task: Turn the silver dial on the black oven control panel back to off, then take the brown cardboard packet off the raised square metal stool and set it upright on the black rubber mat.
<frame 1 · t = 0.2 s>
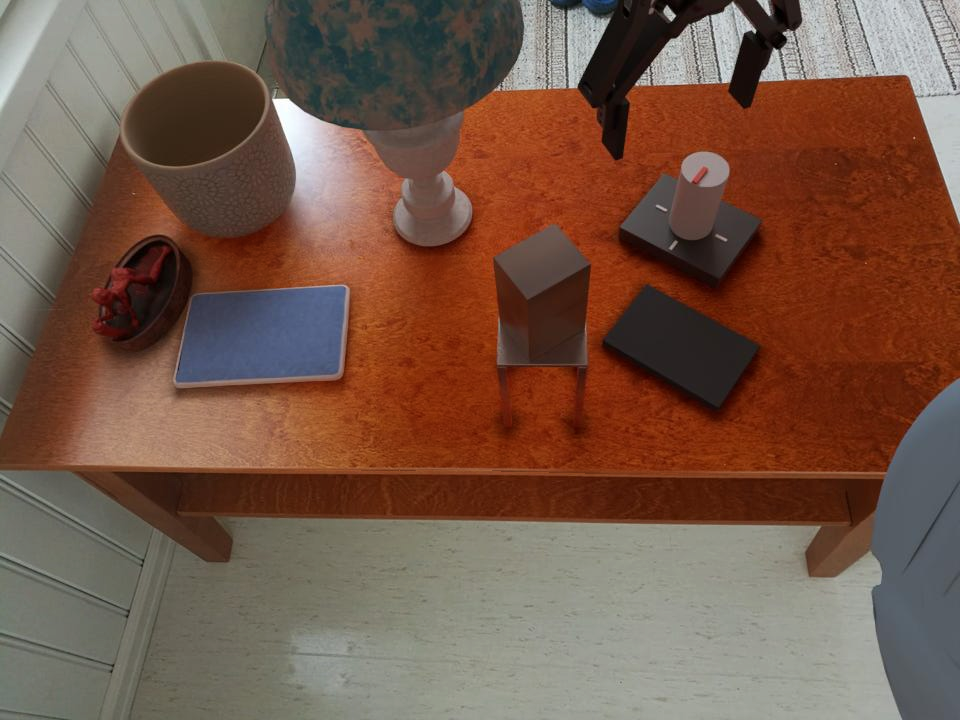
hand: (676, 124, 69), 20 cm above the table, tool pointing down, fingers open, 13 cm apart
packet: (542, 325, 67), point 14 cm above the table, touching square metal stool
oven dial: (697, 196, 82), point 7 cm above the table, hinge at 90.0°
table lamp: (433, 217, 92), on the table
planter: (244, 204, 95), on the table
mat: (679, 348, 80), on the table
tablet: (266, 339, 85), on the table
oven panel: (687, 234, 87), on the table
square metal stool: (542, 392, 79), on the table
figurine: (151, 301, 89), on the table
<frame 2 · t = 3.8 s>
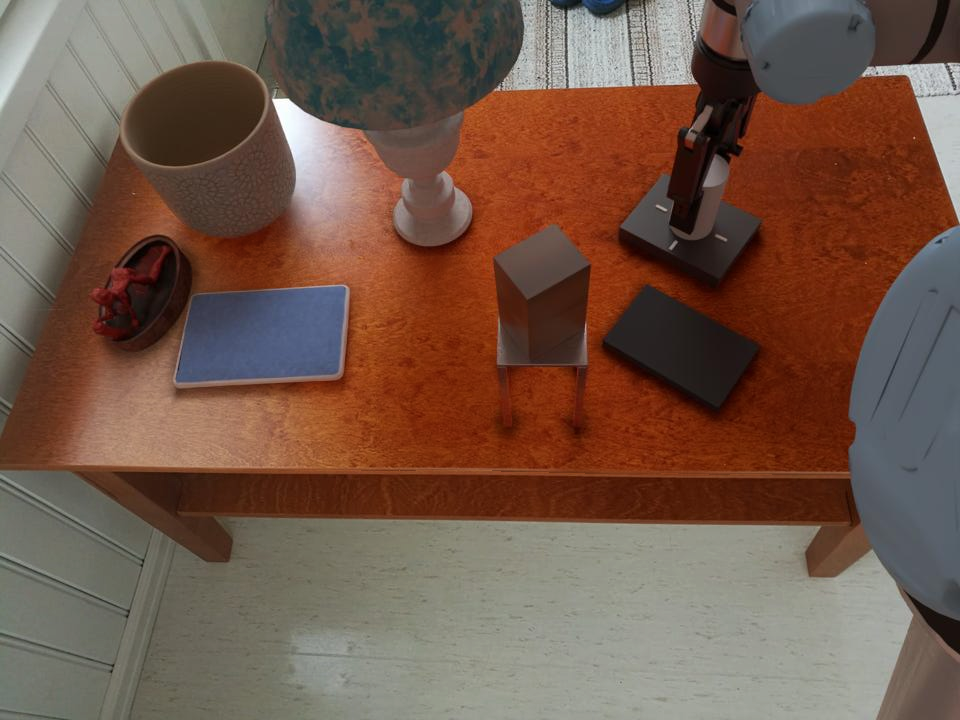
hand: (694, 210, 84), 4 cm above the table, tool pointing down, fingers closed on oven dial, 5 cm apart
oven dial: (697, 196, 82), point 7 cm above the table, hinge at 90.0°, touching gripper
everything else where it was.
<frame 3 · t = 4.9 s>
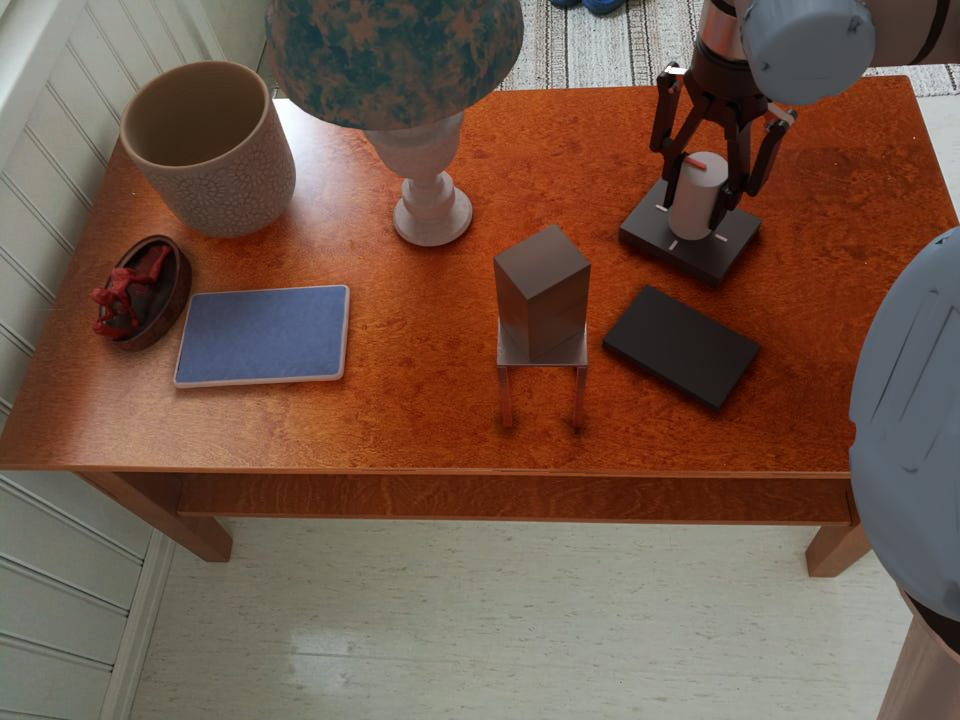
hand: (694, 210, 84), 4 cm above the table, tool pointing down, fingers closed on oven dial, 5 cm apart
oven dial: (697, 196, 82), point 7 cm above the table, hinge at 0.8°, touching gripper
everything else where it was.
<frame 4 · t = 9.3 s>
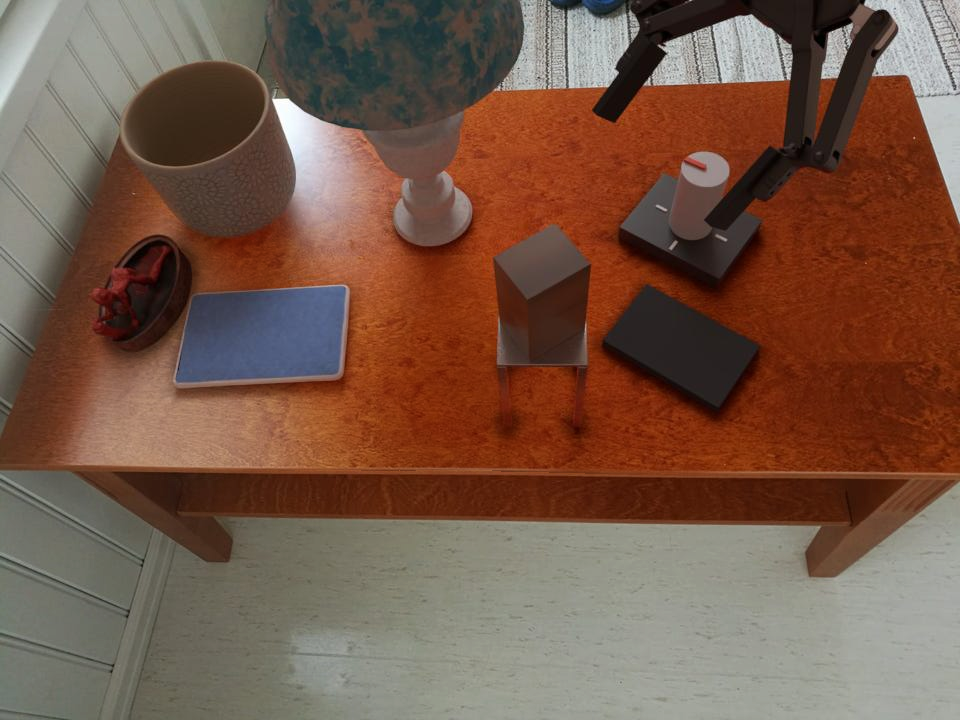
hand: (655, 168, 57), 28 cm above the table, tool tilted 45°, fingers open, 13 cm apart
oven dial: (697, 196, 82), point 7 cm above the table, hinge at 1.4°
everything else where it was.
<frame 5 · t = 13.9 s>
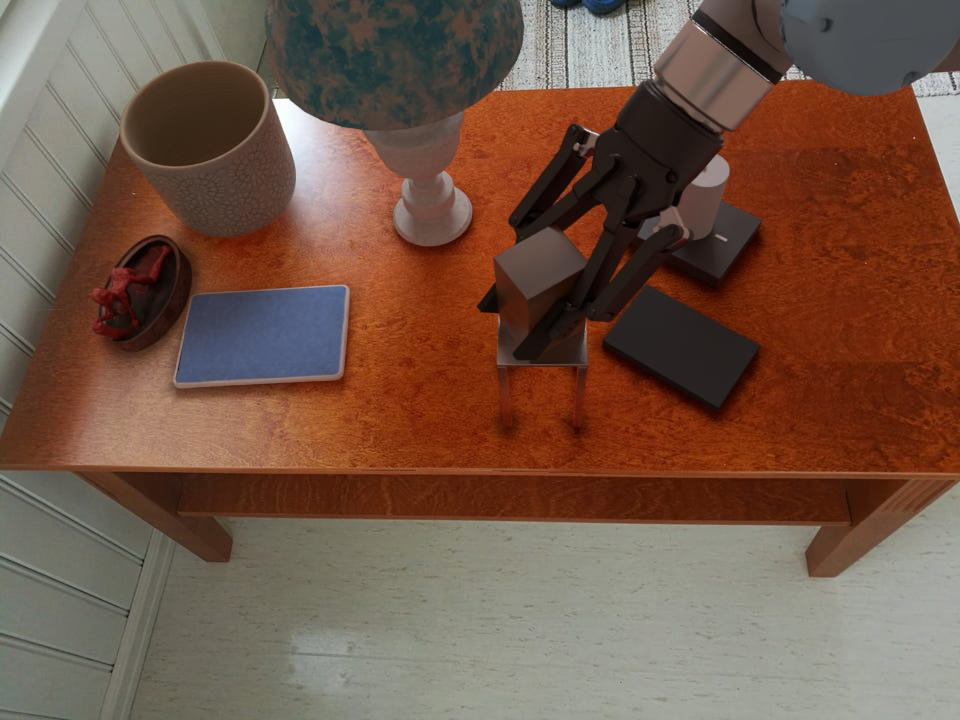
hand: (506, 332, 64), 16 cm above the table, tool tilted 45°, fingers closed on packet, 5 cm apart
packet: (542, 325, 67), point 14 cm above the table, touching gripper, square metal stool
everything else where it was.
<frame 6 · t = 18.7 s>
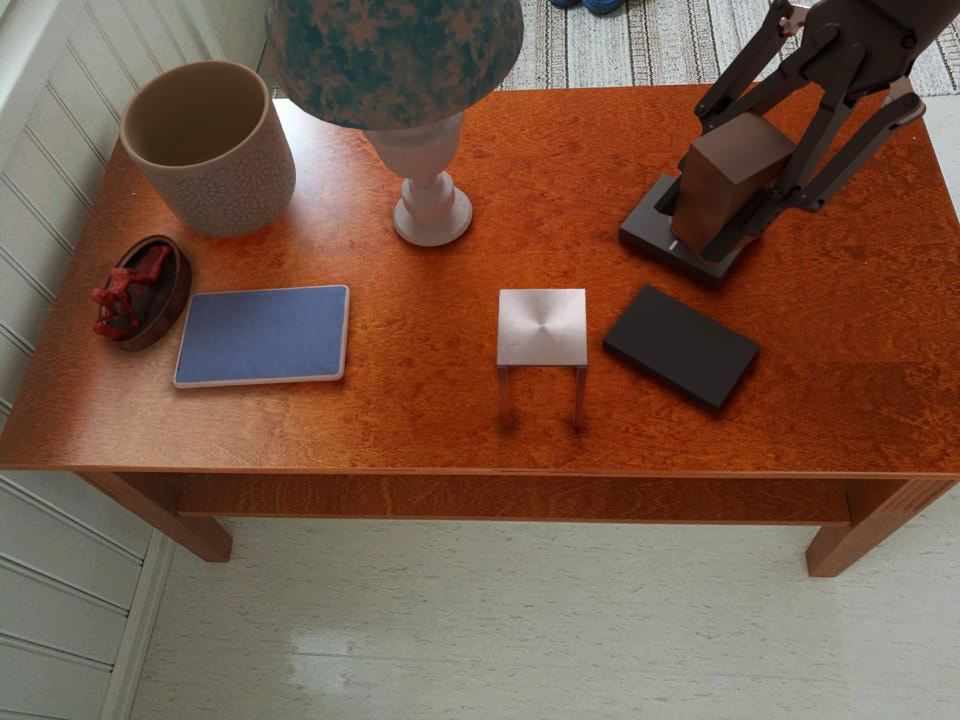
hand: (686, 234, 60), 23 cm above the table, tool tilted 45°, fingers closed on packet, 5 cm apart
packet: (716, 230, 63), point 20 cm above the table, touching gripper
everything else where it was.
when the fingers open (3 cm above the table, at t = 24.0 s): packet stays where it is, resting on mat.
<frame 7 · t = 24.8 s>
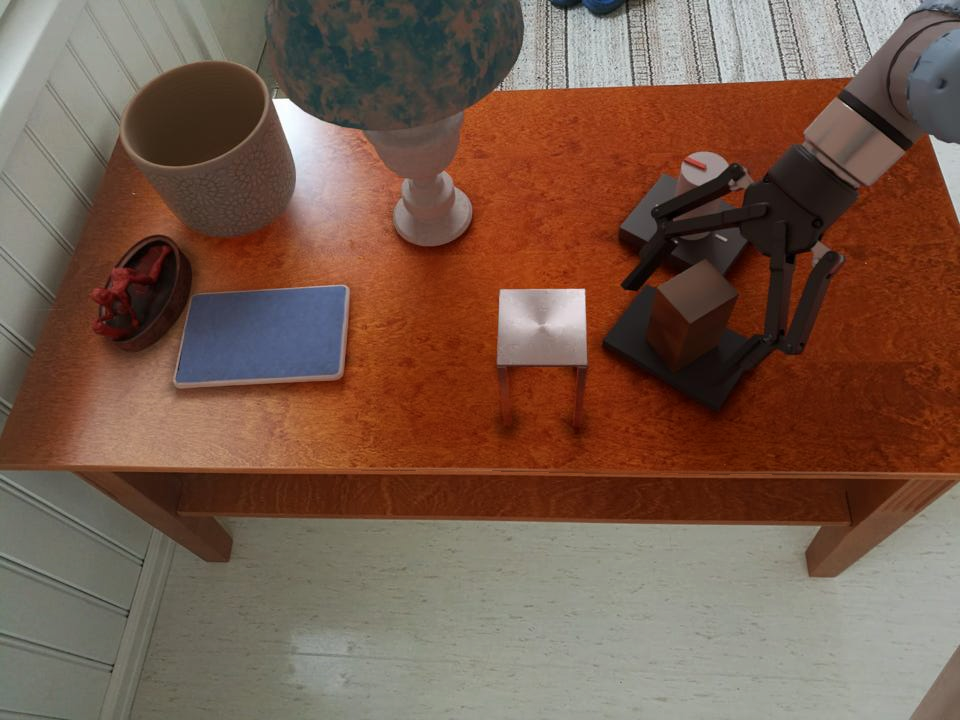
hand: (669, 334, 75), 5 cm above the table, tool tilted 45°, fingers open, 13 cm apart
packet: (681, 342, 79), point 1 cm above the table, touching mat
everything else where it was.
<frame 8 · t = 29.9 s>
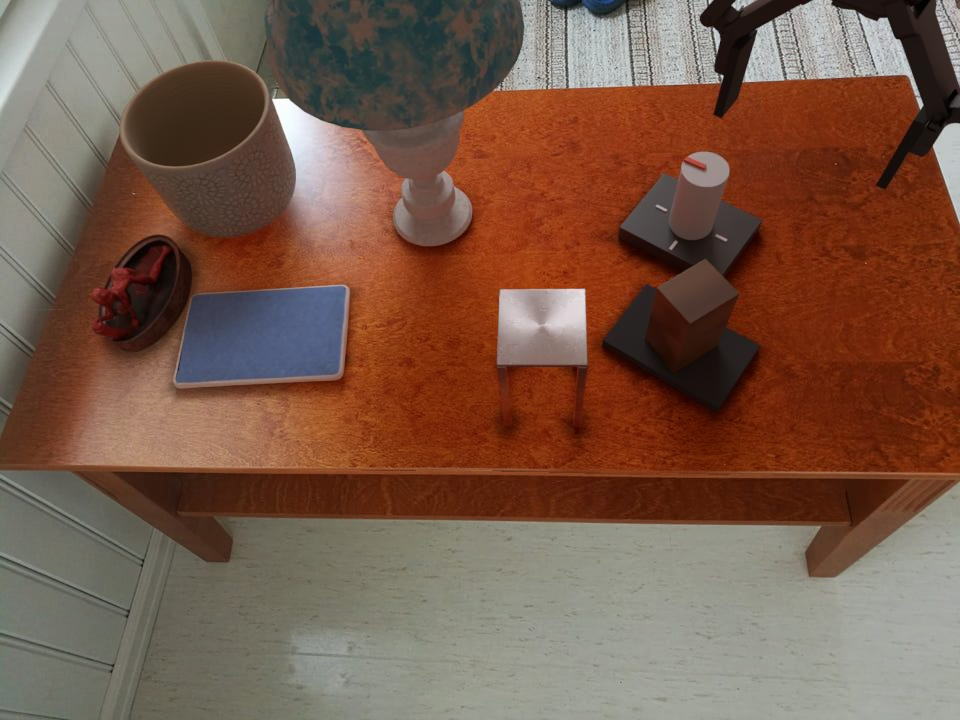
hand: (803, 140, 58), 27 cm above the table, tool pointing down, fingers open, 13 cm apart
nothing on the table moved.
at the end: oven dial at +1° (first picture: +90°); packet inside the target area on the mat (0.1 cm from its centre), point 1.2 cm above the mat's base; packet tilted 0° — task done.
